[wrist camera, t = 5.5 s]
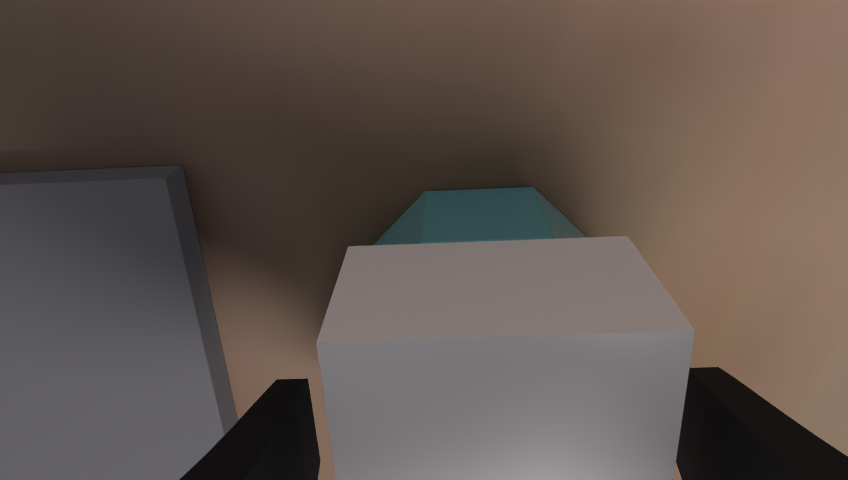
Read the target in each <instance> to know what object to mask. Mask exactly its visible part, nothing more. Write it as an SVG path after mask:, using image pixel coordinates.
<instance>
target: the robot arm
mask: <svg viewBox="0 0 848 480" xmlns="http://www.w3.org/2000/svg"><path fill="white" fill-rule="evenodd" d="M676 463H677V466H678V469H679V472H680V475H681V478H682V480H848V457H847V456H846V455H844V454H843V453H841V452H840V451H838V450H837V449H835V448H834V447H832V446H831V445H829V444H828V443H826V442H825V441H823V440H822V439H820V438H819V437H817V436H816V435H814V434H813V433H811V432H810V431H809V430H807V429H806V428H804V427H803V426H801V425H800V424H798V423H797V422H796V421H794V420H793V419H791V418H790V417H788V416H787V415H786V414H784V413H783V412H781V411H780V410H779V409H777V408H776V407H774V406H773V405H772V404H770V403H769V402H768V401H766V400H765V399H763V398H762V397H761V396H759V395H758V394H756V393H755V392H754V391H752V390H751V389H749V388H748V387H747V386H745V385H744V384H742V383H741V382H740V381H738V380H737V379H735V378H734V377H732V376H731V375H730V374H728V373H727V372H725V371H723V370H722V369H720V368H719V367H707V368H689V375H688V382H687V388H686V395H685V402H684V409H683V416H682V423H681V430H680V436H679V443H678V450H677V457H676ZM319 466H320V455H319V449H318V442H317V436H316V429H315V423H314V416H313V410H312V403H311V397H310V390H309V384H308V379H280V380H276V381H275V382H274V383H273V384H272V385H271V386H270V387H269V388H268V389H267V390H266V391H265V392H264V393H263V395H262V396H261V397H260V398H259V399H258V400H257V401H256V402H255V403H254V404H253V405H252V406H251V408H250V409H249V410H248V411H247V412H246V413H245V414H244V415H243V416H242V417H241V418H240V419H239V421H238V422H237V423H236V424H235V425H234V426H233V427H232V428H231V429H230V430H229V431H228V432H227V433H226V434H225V435H224V436H223V437H222V438H221V439H220V440H219V441H218V442H217V443H216V444H215V446H214V447H213V448H212V449H211V450H210V451H209V452H208V453H207V454H206V455H205V456H204V457H203V458H202V459H201V460H200V461H198V462H197V463H196V464H195V465H194V466H193V467H192V468H191V469H190V470H189V471H188V472H187V473H186V474H185V475H184V476H183V477H181V478H180V479H179V480H318V473H319Z"/></svg>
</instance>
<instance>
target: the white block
mask: <svg viewBox="0 0 848 480" xmlns="http://www.w3.org/2000/svg"><path fill="white" fill-rule="evenodd" d="M694 334H695V330H694V329H693V328H692V326H691V325H690V323H689V322H688V321H687V319H686V318H685V316H684V315H683V313H682V312H681V311H680V309H679V308H678V306H677V305H676V304H675V302H674V301H673V299H672V298H671V297H670V295H669V294H668V292H667V291H666V290H665V288H664V287H663V285H662V284H661V282H660V281H659V280H658V278H657V277H656V275H655V274H654V273H653V271H652V270H651V268H650V267H649V266H648V264H647V263H646V261H645V260H644V259H643V257H642V256H641V254H640V253H639V251H638V250H637V249H636V247H635V246H634V244H633V243H632V242H631V240H630V239H629V237H628V236H613V237H586V238H560V239H533V240H506V241H479V242H452V243H425V244H399V245H372V246H348V249H347V252H346V255H345V258H344V261H343V264H342V267H341V270H340V273H339V276H338V279H337V282H336V285H335V288H334V291H333V294H332V297H331V300H330V303H329V306H328V309H327V312H326V315H325V318H324V321H323V324H322V327H321V330H320V333H319V336H318V339H317V342H316V344H317V351H318V358H319V365H320V372H321V379H322V386H323V393H324V400H325V407H326V414H327V421H328V428H329V435H330V442H331V449H332V456H333V463H334V470H335V477H336V480H673V477H674V471H675V464H676V457H677V450H678V443H679V436H680V430H681V423H682V416H683V409H684V402H685V395H686V388H687V382H688V375H689V368H690V361H691V354H692V347H693V341H694Z"/></svg>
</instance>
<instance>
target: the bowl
mask: <svg viewBox="0 0 848 480" xmlns="http://www.w3.org/2000/svg"><path fill="white" fill-rule="evenodd" d="M586 237H587V236H585V235H584V234H583V233H582V232H581V231H580V230H579V229H578V228H577V227H576V226H575V225H574V224H572V223H571V222H570V221H569V220H568V219H567V218H566V217H565V216H564V215H563V214H562V213H561V212H559V211H558V210H557V209H556V208H555V207H554V206H553V205H552V204H551V203H550V202H549V201H547V200H546V199H545V198H544V197H543V196H542V195H541V194H540V193H539V192H538V191H537V190H536V189H534V187H517V188H492V189H468V190H443V191H424V193H423V194H422V195H421V196H420V197H419V198H418V199H417V200H416V201H415V202H414V203H413V204H412V205H411V206H410V207H409V208H408V209H407V210H406V211H405V212H404V213H403V215H402V216H401V217H400V218H399V219H398V220H397V221H396V222H395V223H394V224H393V225H392V226H391V227H390V228H389V229H388V230H387V231H386V232H385V233H384V234H383V235H382V236H381V237H380V238H379V240H378V241H377V242H376V243H375V244H374V245H399V244H425V243H452V242H479V241H506V240H533V239H560V238H586Z"/></svg>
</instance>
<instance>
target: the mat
mask: <svg viewBox="0 0 848 480" xmlns="http://www.w3.org/2000/svg"><path fill="white" fill-rule="evenodd" d="M237 422H238V420H237V415H236V411H235V406H234V402H233V397H232V392H231V388H230V383H229V378H228V374H227V369H226V365H225V360H224V355H223V351H222V346H221V341H220V337H219V332H218V327H217V323H216V318H215V314H214V309H213V304H212V300H211V295H210V290H209V286H208V281H207V277H206V272H205V267H204V263H203V258H202V253H201V249H200V244H199V240H198V235H197V230H196V226H195V221H194V216H193V212H192V207H191V202H190V198H189V193H188V189H187V184H186V179H185V175H184V170H183V165H174V166H151V167H127V168H104V169H81V170H58V171H35V172H12V173H0V480H179V479H180V478H181V477H183V476H184V475H185V474H186V473H187V472H188V471H189V470H190V469H191V468H192V467H193V466H194V465H195V464H196V463H197V462H198V461H200V460H201V459H202V458H203V457H204V456H205V455H206V454H207V453H208V452H209V451H210V450H211V449H212V448H213V447H214V446H215V444H216V443H217V442H218V441H219V440H220V439H221V438H222V437H223V436H224V435H225V434H226V433H227V432H228V431H229V430H230V429H231V428H232V427H233V426H234V425H235V424H236V423H237Z"/></svg>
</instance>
